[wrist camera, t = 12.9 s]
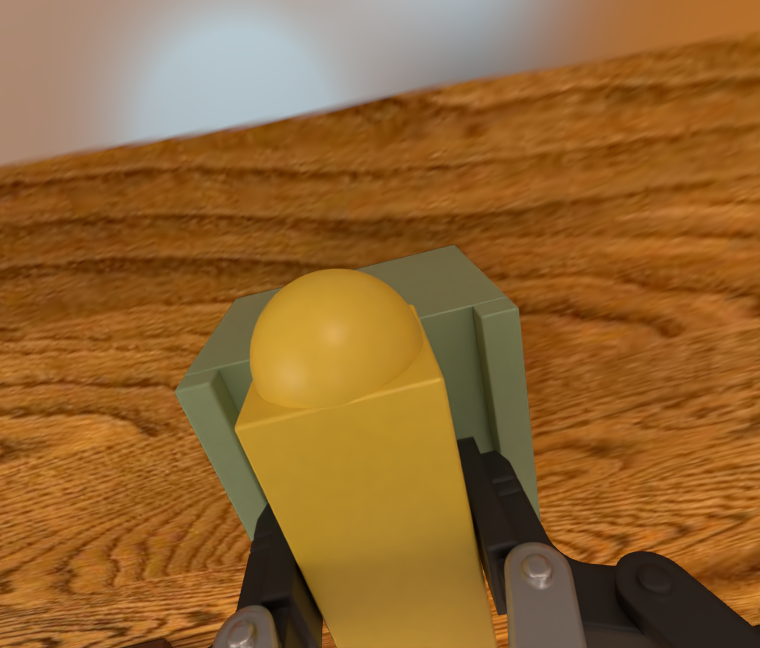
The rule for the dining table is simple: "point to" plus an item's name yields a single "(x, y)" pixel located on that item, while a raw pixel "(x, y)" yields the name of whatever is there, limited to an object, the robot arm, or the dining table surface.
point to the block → (448, 342)
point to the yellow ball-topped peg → (364, 465)
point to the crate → (153, 644)
